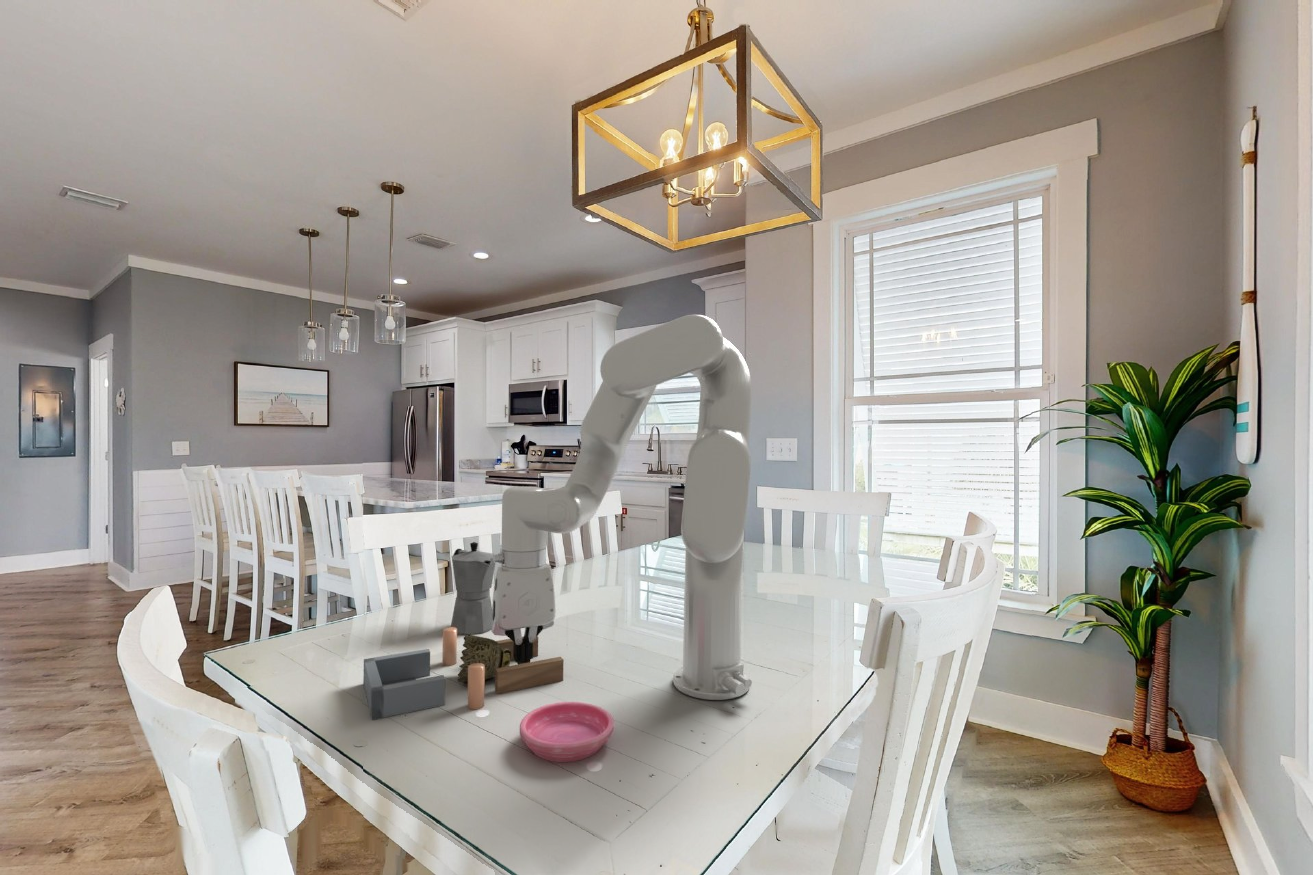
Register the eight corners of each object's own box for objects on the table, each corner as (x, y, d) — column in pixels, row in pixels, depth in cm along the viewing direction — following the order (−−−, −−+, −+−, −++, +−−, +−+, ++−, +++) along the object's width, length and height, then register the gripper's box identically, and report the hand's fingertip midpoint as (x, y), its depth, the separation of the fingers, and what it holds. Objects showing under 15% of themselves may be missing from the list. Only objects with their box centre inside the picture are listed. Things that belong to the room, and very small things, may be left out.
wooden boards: (563, 680, 100) (563, 659, 100) (497, 693, 95) (497, 671, 95) (535, 653, 112) (535, 634, 112) (475, 663, 107) (476, 644, 107)
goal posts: (485, 707, 90) (486, 667, 90) (469, 710, 89) (470, 670, 89) (454, 659, 108) (455, 626, 108) (441, 661, 107) (441, 628, 107)
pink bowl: (569, 713, 89) (570, 692, 89) (632, 742, 81) (632, 718, 81) (499, 746, 79) (500, 722, 79) (563, 782, 72) (563, 756, 72)
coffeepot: (508, 630, 125) (510, 544, 124) (466, 641, 118) (467, 549, 118) (473, 613, 136) (475, 534, 136) (433, 622, 129) (434, 538, 129)
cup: (504, 678, 105) (456, 675, 102) (510, 634, 106) (464, 631, 104) (508, 688, 98) (457, 686, 95) (515, 641, 99) (465, 638, 97)
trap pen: (444, 704, 91) (445, 678, 91) (371, 719, 85) (372, 691, 85) (428, 672, 103) (428, 648, 103) (363, 683, 98) (363, 659, 98)
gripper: (485, 567, 97) (484, 680, 97) (572, 558, 104) (571, 663, 104) (474, 558, 103) (474, 664, 103) (557, 551, 111) (556, 650, 111)
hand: (523, 664), depth 104 cm, fingers closed
